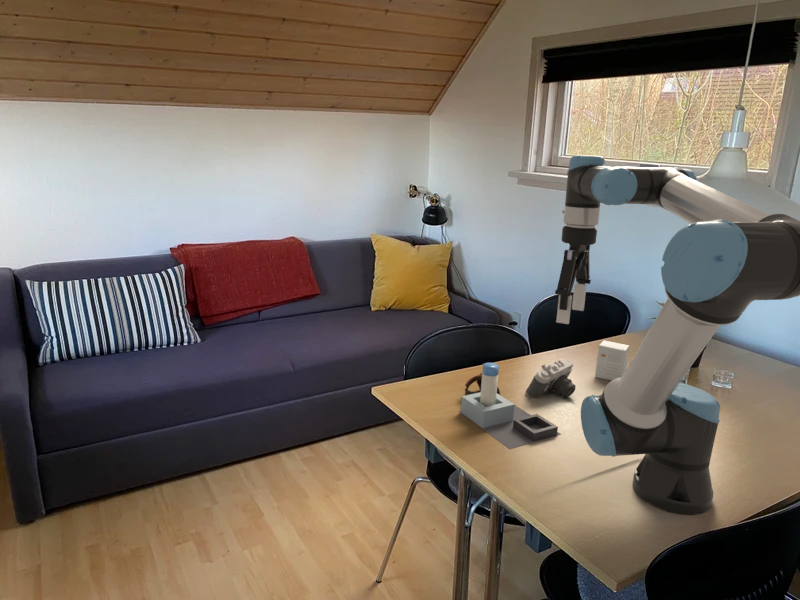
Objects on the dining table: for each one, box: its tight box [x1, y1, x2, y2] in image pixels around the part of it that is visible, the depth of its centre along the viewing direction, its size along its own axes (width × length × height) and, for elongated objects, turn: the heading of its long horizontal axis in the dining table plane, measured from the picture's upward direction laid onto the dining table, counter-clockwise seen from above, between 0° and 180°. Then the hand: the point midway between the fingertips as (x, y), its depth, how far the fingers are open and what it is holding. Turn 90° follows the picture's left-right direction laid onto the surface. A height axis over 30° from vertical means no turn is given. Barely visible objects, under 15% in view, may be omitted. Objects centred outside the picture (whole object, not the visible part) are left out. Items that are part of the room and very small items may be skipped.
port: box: [460, 392, 516, 429], centre depth 151 cm, size 10×10×4 cm
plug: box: [480, 362, 500, 407], centre depth 150 cm, size 4×4×14 cm
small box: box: [594, 339, 630, 382], centre depth 180 cm, size 8×6×10 cm
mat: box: [458, 404, 562, 450], centre depth 149 cm, size 21×16×1 cm
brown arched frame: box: [464, 373, 501, 396], centre depth 163 cm, size 12×10×8 cm
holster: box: [513, 413, 559, 443], centre depth 144 cm, size 8×8×2 cm
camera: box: [525, 357, 576, 399], centre depth 166 cm, size 9×16×10 cm, turn 133°
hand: (570, 316), depth 139 cm, fingers open, 13 cm apart
